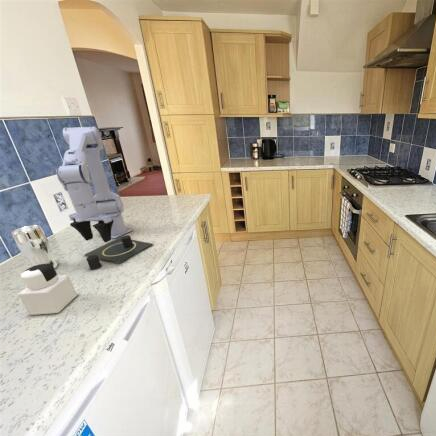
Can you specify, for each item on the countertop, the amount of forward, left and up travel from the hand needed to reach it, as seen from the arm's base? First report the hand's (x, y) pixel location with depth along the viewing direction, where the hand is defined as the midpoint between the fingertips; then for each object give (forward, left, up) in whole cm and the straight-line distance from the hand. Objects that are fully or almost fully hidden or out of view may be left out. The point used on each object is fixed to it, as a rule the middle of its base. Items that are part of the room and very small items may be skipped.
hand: (98, 240), depth 83 cm
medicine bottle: (+8, -20, -9) cm, 23 cm away
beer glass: (-16, -10, -9) cm, 20 cm away
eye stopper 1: (0, -4, -8) cm, 9 cm away
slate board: (-3, +7, -8) cm, 11 cm away
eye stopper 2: (-1, +10, -8) cm, 12 cm away
